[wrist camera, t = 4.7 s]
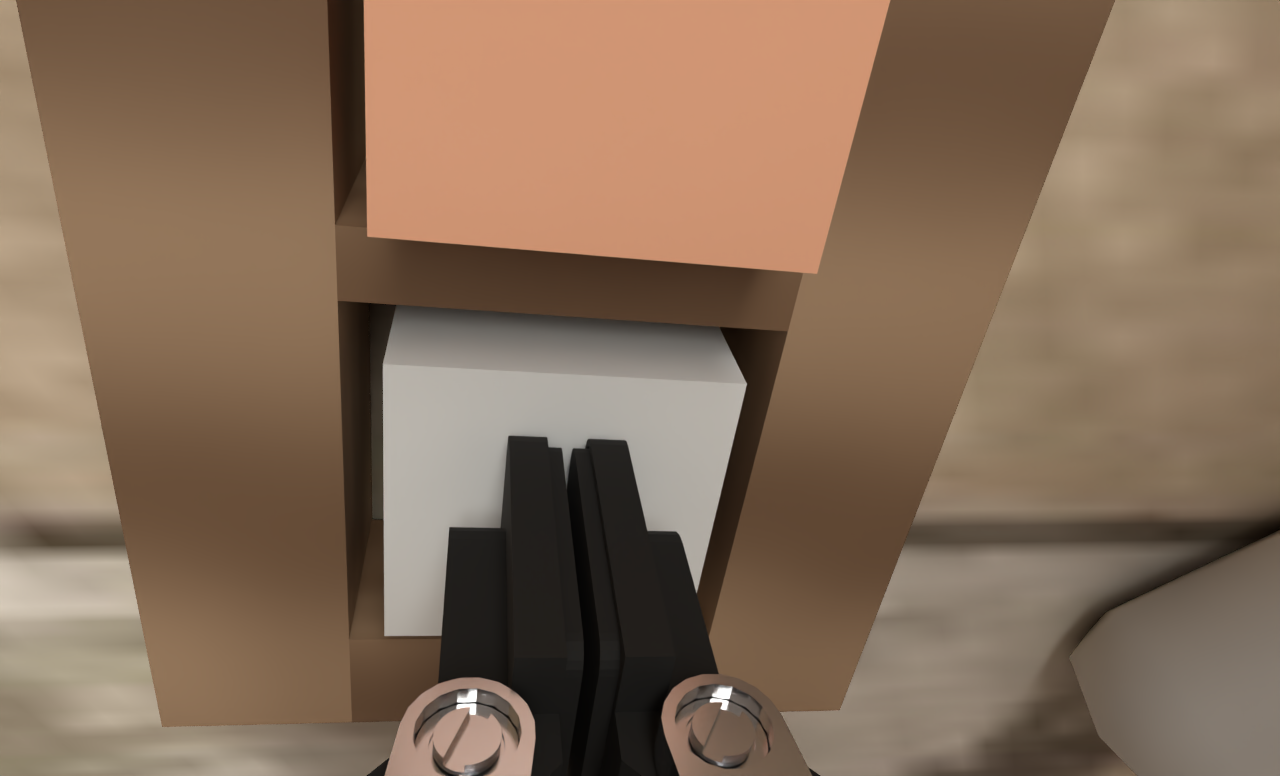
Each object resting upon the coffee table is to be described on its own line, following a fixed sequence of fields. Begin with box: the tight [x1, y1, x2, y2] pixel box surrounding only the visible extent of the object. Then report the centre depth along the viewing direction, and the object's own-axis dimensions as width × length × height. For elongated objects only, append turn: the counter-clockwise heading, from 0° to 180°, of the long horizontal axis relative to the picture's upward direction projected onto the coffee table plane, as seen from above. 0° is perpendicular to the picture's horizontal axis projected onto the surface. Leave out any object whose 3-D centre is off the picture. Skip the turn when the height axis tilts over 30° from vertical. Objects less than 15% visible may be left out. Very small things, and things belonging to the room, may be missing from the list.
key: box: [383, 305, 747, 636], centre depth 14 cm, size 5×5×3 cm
